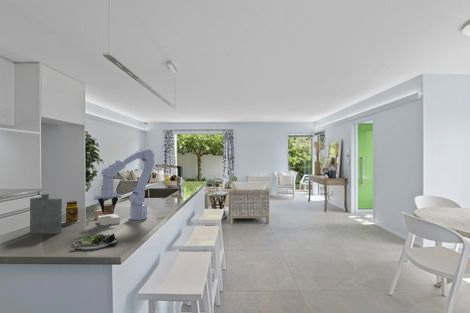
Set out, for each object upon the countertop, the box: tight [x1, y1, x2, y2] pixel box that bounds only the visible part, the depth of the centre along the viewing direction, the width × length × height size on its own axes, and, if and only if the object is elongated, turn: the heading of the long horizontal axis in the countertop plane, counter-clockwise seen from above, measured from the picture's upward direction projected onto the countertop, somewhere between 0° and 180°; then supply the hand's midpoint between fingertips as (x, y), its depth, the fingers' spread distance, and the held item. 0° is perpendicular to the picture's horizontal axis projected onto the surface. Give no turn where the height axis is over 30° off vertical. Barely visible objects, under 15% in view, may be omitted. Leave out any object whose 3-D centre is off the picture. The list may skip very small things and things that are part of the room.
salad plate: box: [69, 233, 119, 251], centre depth 127 cm, size 19×18×5 cm
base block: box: [97, 213, 121, 226], centre depth 166 cm, size 10×10×4 cm
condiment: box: [62, 200, 82, 224], centre depth 167 cm, size 7×8×12 cm
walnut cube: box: [102, 203, 115, 215], centre depth 166 cm, size 5×5×5 cm
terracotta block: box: [94, 209, 104, 220], centre depth 178 cm, size 5×5×5 cm
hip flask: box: [29, 193, 63, 235], centre depth 144 cm, size 16×4×20 cm, turn 87°
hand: (107, 210), depth 166 cm, fingers closed on walnut cube, 5 cm apart
